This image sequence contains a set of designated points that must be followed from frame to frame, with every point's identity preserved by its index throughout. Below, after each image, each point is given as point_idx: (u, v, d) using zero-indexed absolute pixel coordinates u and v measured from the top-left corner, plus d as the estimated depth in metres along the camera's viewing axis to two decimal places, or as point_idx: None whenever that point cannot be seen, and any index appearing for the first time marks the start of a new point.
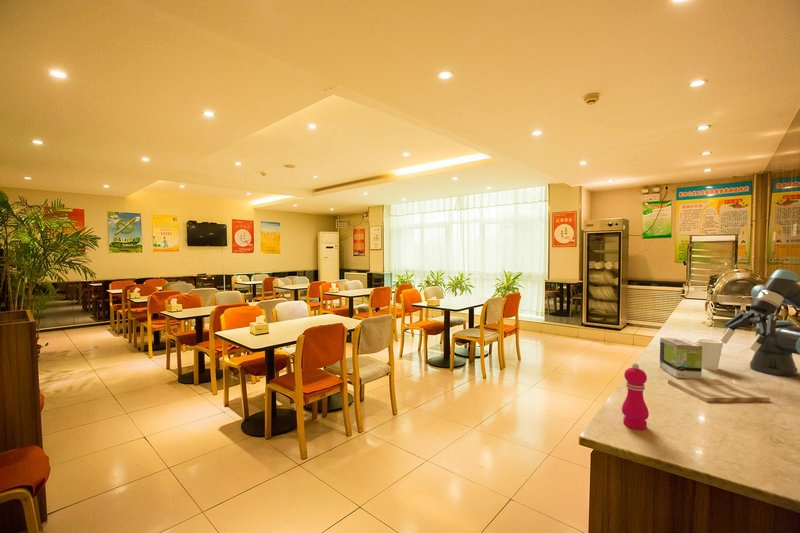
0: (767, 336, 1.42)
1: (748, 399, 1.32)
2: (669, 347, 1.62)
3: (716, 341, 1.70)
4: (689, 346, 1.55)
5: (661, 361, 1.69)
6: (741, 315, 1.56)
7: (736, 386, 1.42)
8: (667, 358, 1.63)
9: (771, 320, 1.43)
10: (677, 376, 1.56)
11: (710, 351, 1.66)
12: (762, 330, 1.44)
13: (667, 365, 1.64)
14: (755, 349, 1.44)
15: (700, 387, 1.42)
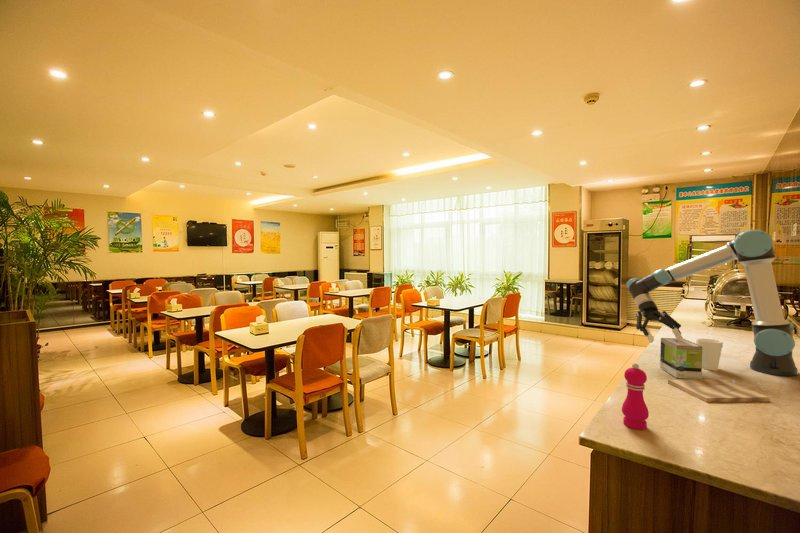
0: (641, 328, 1.74)
1: (748, 399, 1.32)
2: (669, 347, 1.62)
3: (716, 341, 1.70)
4: (689, 346, 1.55)
5: (661, 361, 1.68)
6: (664, 317, 1.79)
7: (736, 386, 1.42)
8: (667, 358, 1.63)
9: (637, 318, 1.79)
10: (677, 376, 1.56)
11: (710, 351, 1.66)
12: None
13: (667, 365, 1.63)
14: (651, 339, 1.69)
15: (700, 387, 1.42)
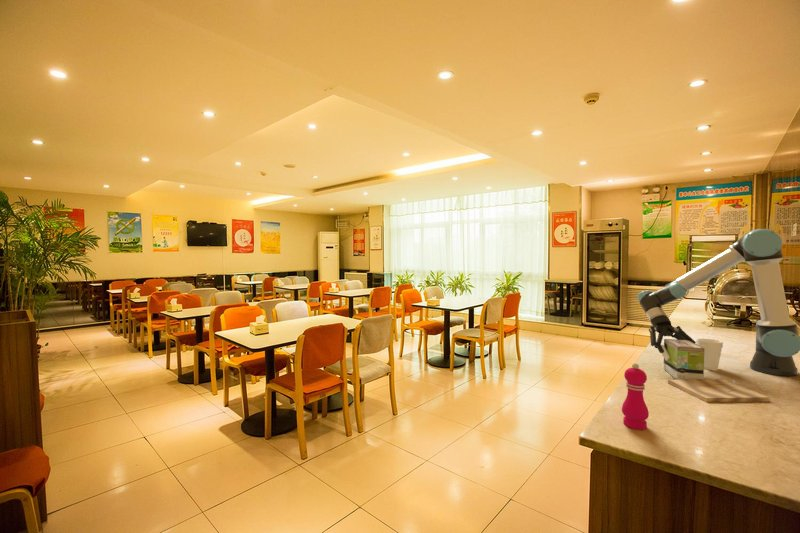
0: (655, 345, 1.66)
1: (748, 399, 1.32)
2: (671, 348, 1.60)
3: (716, 341, 1.70)
4: (690, 348, 1.53)
5: (664, 363, 1.66)
6: (678, 332, 1.71)
7: (736, 386, 1.42)
8: (669, 359, 1.61)
9: (650, 333, 1.71)
10: (677, 378, 1.54)
11: (710, 351, 1.66)
12: None
13: (669, 367, 1.61)
14: (667, 357, 1.61)
15: (700, 387, 1.42)
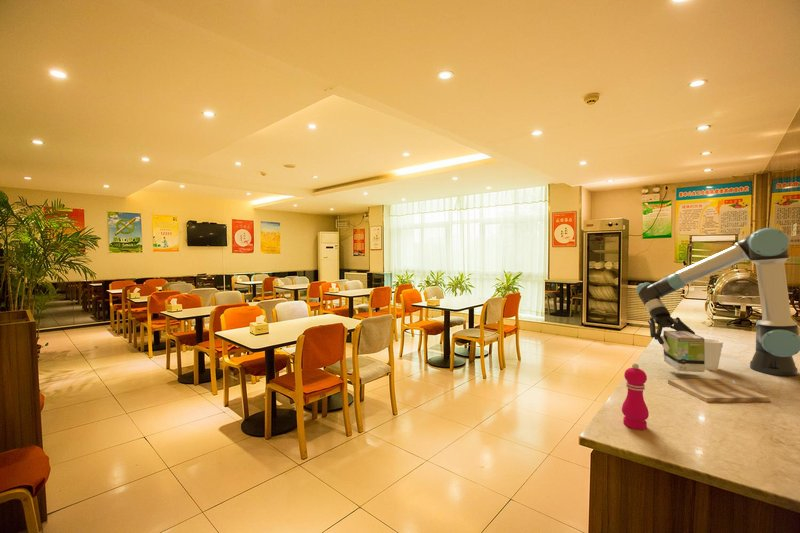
0: (655, 336, 1.66)
1: (748, 399, 1.32)
2: (671, 340, 1.59)
3: (716, 341, 1.70)
4: (690, 338, 1.52)
5: (665, 354, 1.66)
6: (677, 324, 1.71)
7: (736, 386, 1.42)
8: (670, 351, 1.61)
9: (650, 325, 1.71)
10: (679, 369, 1.54)
11: (710, 351, 1.66)
12: None
13: (670, 358, 1.61)
14: (667, 348, 1.61)
15: (700, 387, 1.42)
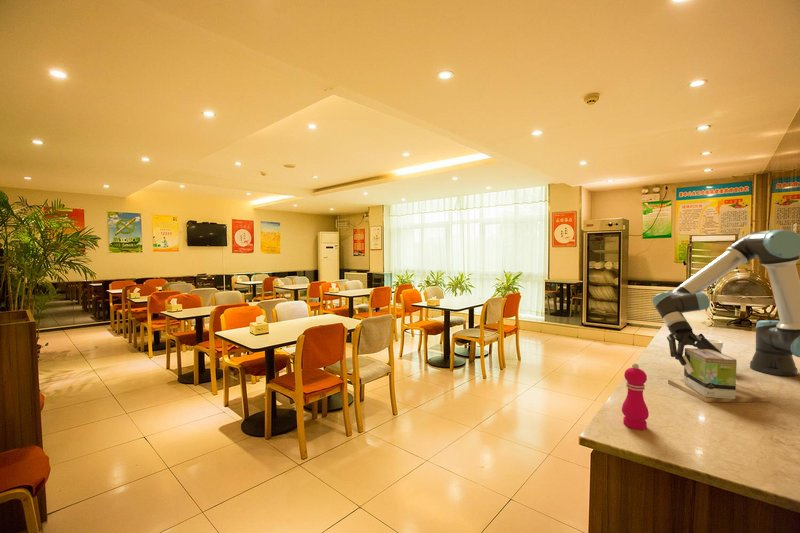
0: (676, 356, 1.44)
1: (748, 399, 1.32)
2: (696, 360, 1.38)
3: (716, 341, 1.70)
4: (720, 359, 1.31)
5: (686, 376, 1.44)
6: (700, 341, 1.49)
7: (736, 386, 1.42)
8: (693, 372, 1.39)
9: (669, 342, 1.49)
10: (705, 395, 1.32)
11: None
12: None
13: (693, 381, 1.39)
14: (690, 370, 1.39)
15: None
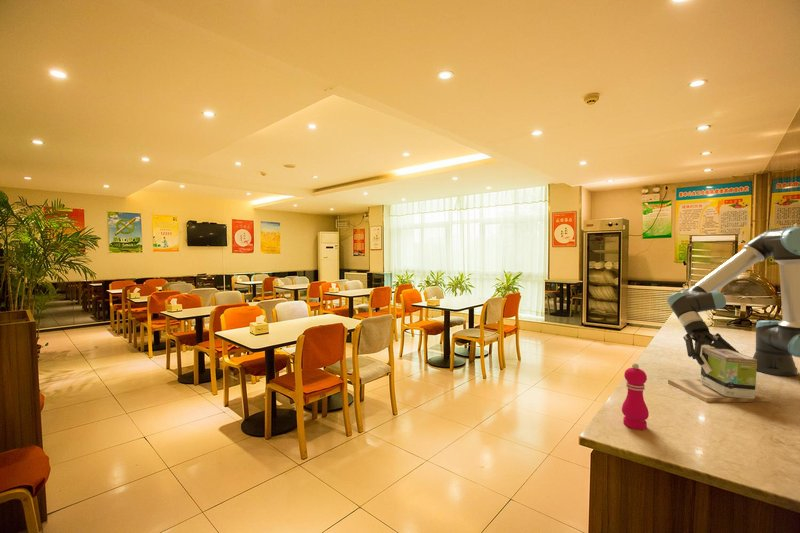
0: (694, 356, 1.44)
1: (748, 399, 1.32)
2: (715, 359, 1.37)
3: None
4: (741, 359, 1.30)
5: (703, 375, 1.44)
6: (717, 341, 1.49)
7: None
8: (712, 372, 1.39)
9: (686, 342, 1.49)
10: (725, 394, 1.32)
11: None
12: None
13: (711, 380, 1.39)
14: (708, 370, 1.39)
15: (700, 387, 1.42)
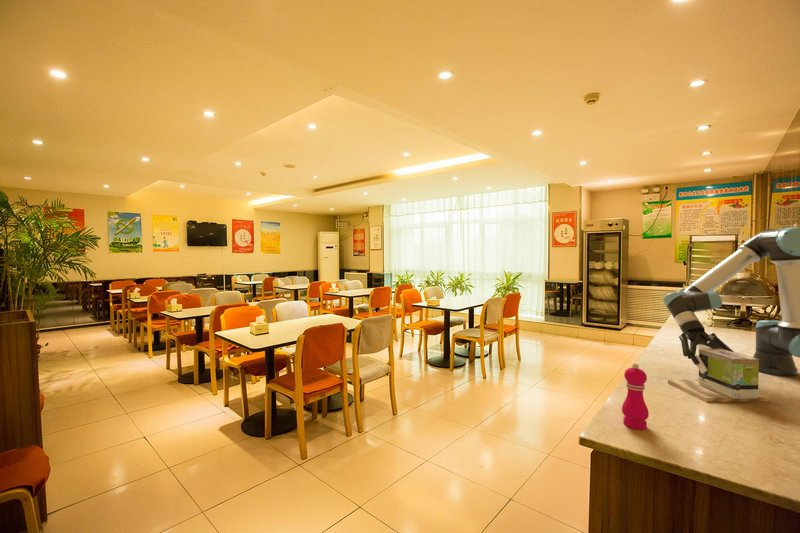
0: (689, 355, 1.44)
1: (748, 399, 1.32)
2: (717, 361, 1.36)
3: None
4: (745, 360, 1.30)
5: (702, 377, 1.43)
6: (713, 340, 1.49)
7: None
8: (714, 374, 1.37)
9: (681, 341, 1.49)
10: (733, 396, 1.30)
11: None
12: None
13: (714, 382, 1.37)
14: (703, 369, 1.39)
15: (700, 387, 1.42)
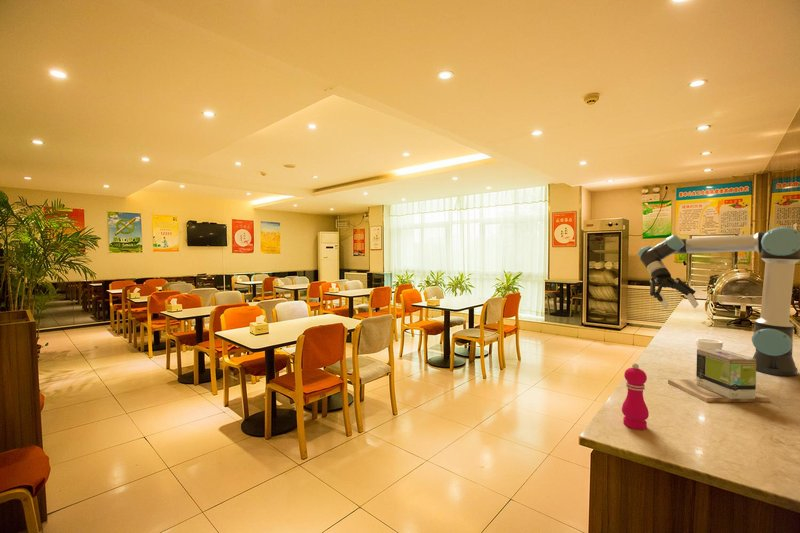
0: (655, 294, 1.71)
1: (748, 399, 1.32)
2: (715, 361, 1.36)
3: (716, 341, 1.70)
4: (743, 360, 1.30)
5: (700, 377, 1.43)
6: None
7: None
8: (712, 374, 1.37)
9: (650, 285, 1.76)
10: (730, 397, 1.30)
11: None
12: None
13: (711, 383, 1.37)
14: (665, 304, 1.66)
15: (700, 387, 1.42)
